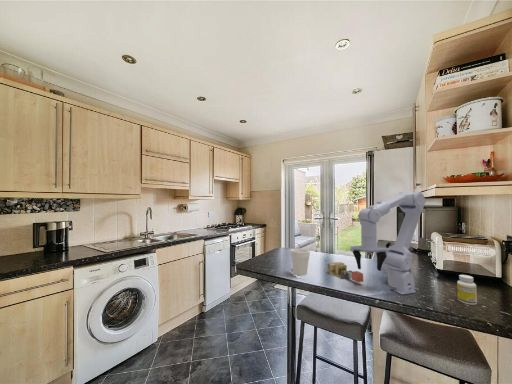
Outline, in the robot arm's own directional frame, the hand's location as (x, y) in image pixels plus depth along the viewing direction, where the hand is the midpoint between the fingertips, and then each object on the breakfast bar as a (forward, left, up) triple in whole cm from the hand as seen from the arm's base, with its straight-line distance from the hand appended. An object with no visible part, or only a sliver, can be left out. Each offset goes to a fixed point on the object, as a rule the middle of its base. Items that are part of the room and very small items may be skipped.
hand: (369, 269), depth 92 cm
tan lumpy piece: (+18, 0, -8) cm, 20 cm away
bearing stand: (+18, 0, -10) cm, 21 cm away
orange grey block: (+10, 0, -7) cm, 12 cm away
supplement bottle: (-17, -31, -10) cm, 37 cm away
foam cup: (+26, +18, -10) cm, 34 cm away
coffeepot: (+15, -35, -10) cm, 40 cm away
